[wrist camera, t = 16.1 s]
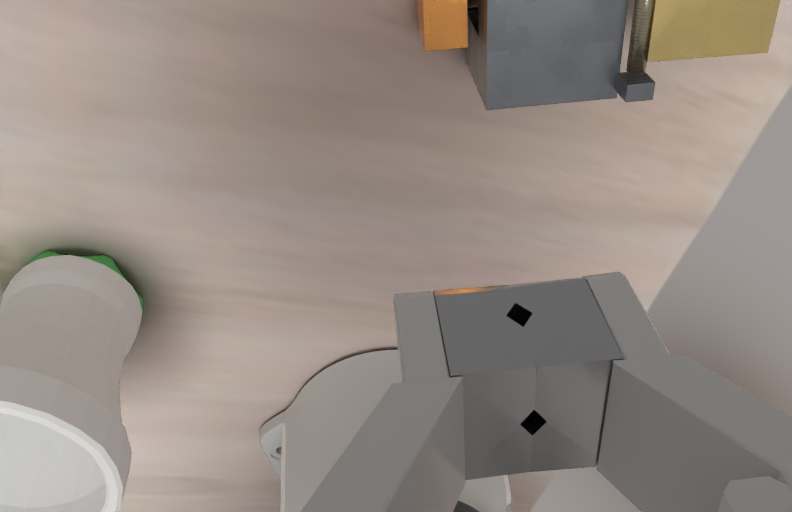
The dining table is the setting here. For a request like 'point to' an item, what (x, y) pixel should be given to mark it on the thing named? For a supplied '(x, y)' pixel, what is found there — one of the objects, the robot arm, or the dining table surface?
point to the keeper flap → (698, 29)
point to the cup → (65, 384)
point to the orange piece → (443, 23)
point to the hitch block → (550, 53)
